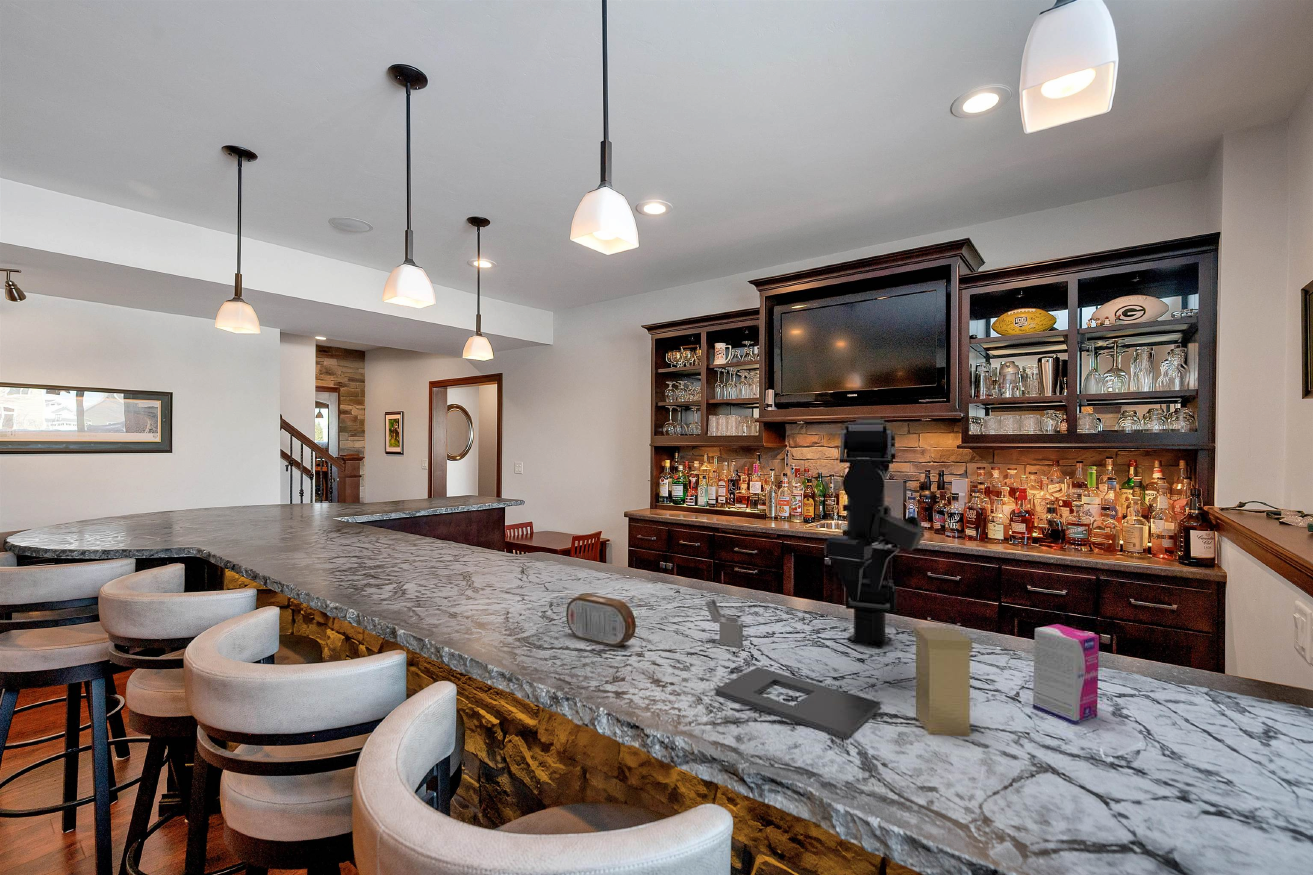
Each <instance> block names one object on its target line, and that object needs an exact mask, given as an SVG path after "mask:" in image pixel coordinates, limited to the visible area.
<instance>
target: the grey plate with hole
mask: <svg viewBox="0 0 1313 875" xmlns="http://www.w3.org/2000/svg"><path fill="white" fill-rule="evenodd" d="M774 686H779V687H783V688H786V689H789V690H791V689H792V690H793V691H794V692H798V693H801V692H802V694H806V695H807V696H806V697H804V698H802V699H801V700H800V701H798V702H797V703H795V704H794V705H792V704H790V703H787V702H784V701H780V700H778V699H774V698H771V697H767V696H766V695H765V696H764V695H762V693H763V692H766V691H767V690H768V689H770V688H771V687H774ZM792 690H791V691H792ZM715 696H719V697H722V698H725V699H727V700H731V701H733V702H736V703H739V704H741V705H744V706H747V707H751V708H753V709H757V710H759V711H763V712H764V713H765V712H766V713H768V714H772V715H774V716H777V717H780V718H783V719H786V720H789V721H792V722H795V723H798V724H799V725H800V724H801V725H803V726H805V727H810V728H812V729H815V730H819V731H822V732H825V733H827V734H830V735H833V736H835V737H838V738H842V739H844V740H848V739H849V738H850V737H851V736H852V735H854V733H855V732H856V731H857V730H859V729H860V728H861V727H862V726H864V724H866V722H867V721H868V720H870V719H871V718H872V716H874V715H875V714H876V713H877V712H878V711H880V709H881V708H882V706H881V704H882V703H881V701H878V700H875V699H871V698H868V697H863V696H860V695H857V694H852V693H850V692H846V691H843V690H839V689H836V688H832V687H828V686H825V685H822V684H819V683H815V682H811V681H809V680H808V681H807V680H804V679H802V678H797V677H793V676H791V675H787V674H784V673H780V672H776V671H774V670H773V671H772V670H770V669H767V668H763V667H759V666H756V667H754V668H753V669H751V670H749V671H748V672H745V673H744V674H741V675H740V676H738V677H736V678H734V679H732V680H730V681H728V682H727V683H725V684H723V685H721V686H719V687H717V688H715Z"/></svg>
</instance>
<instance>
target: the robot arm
mask: <svg viewBox="0 0 1313 875" xmlns="http://www.w3.org/2000/svg"><path fill="white" fill-rule="evenodd" d="M887 427H888V423H887V422H886V421H885V419H884V418H881V417H860V418H859V419H856V420H855V421H847V422H846V424H845V428H841V431H840V444H839V445H840V446H839V463H840V464H849V468H848V470H847V472H846V473H845V475H844V477H843V479H842V488H843V492H844V493H845V495H846V496H847V503H846V504H843V505H842V512H847V513H846V514H847V517H846V519H847V521H846V522H847V524H846V525H847V526H846V527H847V528H846V529H842V535H840V534H838V535H834V536H830V537H829V538H827V540H826V541H825V542H824V545H823V546H824V547H823V550H824V551H823V552H824V556H828V560H829V561H831V563H832V565H833V567H834V568H835V570H836V572H837V574H838V576H839V579H840V580H841V582H842V585H843V587H844V590H845V609H846V610H853V633H852V634H850V635H849V636H847V637H846V641H848V642H852V643H855V644H856V643H857V644H860V645H865V646H869V647H874V648H877V649H882V648H883V647H885V646H886V645H887V644H889V643H890V642H892V640H893V637H891V636H887V635H886V614H891V615H893V614H894V613H897V612H898V610H897V609H898V588H896V586H895V584H894V580H891V579H890V571H889V568H888V563H889V561H890V560H889V559H890V558H892V557H893V556H894V555H895V554H896V553H898V552H899V551H900V550H901V549H902V550H905V551H908V552H912V551H913V550H917V549H918V547H919V544H920V543H921V540H922V538H924V537H925V533H924V532H925V528H924V527H922V526H923V525H922V519H921V518H920V517H917V516H914V515H909V516H906V518H905V519H903V518H901V517H896V516H893V515H892V514H891V513H892V508H891V507H890V505H888V504H886V503H885V501H886V479H888V476H889V475H890V465H892V464H894V460H896V435H895V434H894V433H893V429H892V428H887ZM892 546H893V547H892Z"/></svg>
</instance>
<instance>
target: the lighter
mask: <svg viewBox="0 0 1313 875" xmlns="http://www.w3.org/2000/svg"><path fill="white" fill-rule="evenodd" d="M704 604H705V606H706V609H707V612H708V614H709V617H710V618H711V621H712V623H713V624H715V623H718V622H719V627H718V628H719V637H718V638H719V639H718V641H719V645H720V646H721V645H722V646H727V647H732V648H737V649H741V648H742V647H744V646H743V645H744V640H743V639H744V622H743V621H739V618H737V616H736V615H725V619H724V618H723V617H722V614H721V611H720V609H719V607H718V604H717V602H716V599H715V598H710V599H708V600H705V602H704Z"/></svg>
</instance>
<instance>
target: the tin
mask: <svg viewBox="0 0 1313 875" xmlns="http://www.w3.org/2000/svg"><path fill="white" fill-rule="evenodd" d="M565 615H566V616H565V617H566V622H567V627H568V628H569V630H570V631H571V633H572V634H573V635H574V637H577V638H578V639H581V640H584V641H588V642H592V643H595V644H600V645H604V646H608V647H613V648H614V647H615V648H616V647H620V646H622V645H624V644H627V643H628V642H630V641H631V640H632V639H633V638H634V636H635V633H636V630H637V622H636V618H635V615H634V612H633V610H632V608H630V606H629V605H628V604H627V603H626V602H625V601H623V600H621V599H618V598H614V597H607V596H603V595H597V594H592V593H587V592H585V593H581V594H579V595H578V596H575V597H574V598H572V599H571V600H570V601H569V602H568V604H567V606H566V612H565Z"/></svg>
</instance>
